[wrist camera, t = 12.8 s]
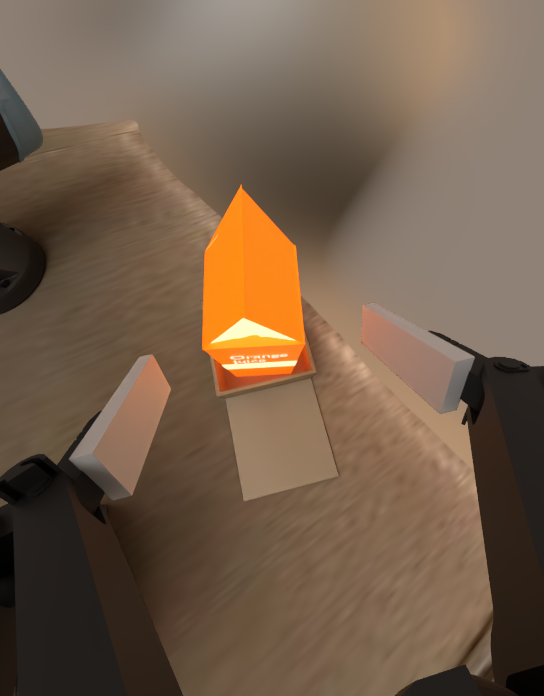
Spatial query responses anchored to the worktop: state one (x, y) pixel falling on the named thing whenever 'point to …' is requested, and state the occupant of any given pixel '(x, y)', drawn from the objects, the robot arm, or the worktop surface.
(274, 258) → the orange juice
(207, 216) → the worktop surface
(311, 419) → the kraft mailer box
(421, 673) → the worktop surface
